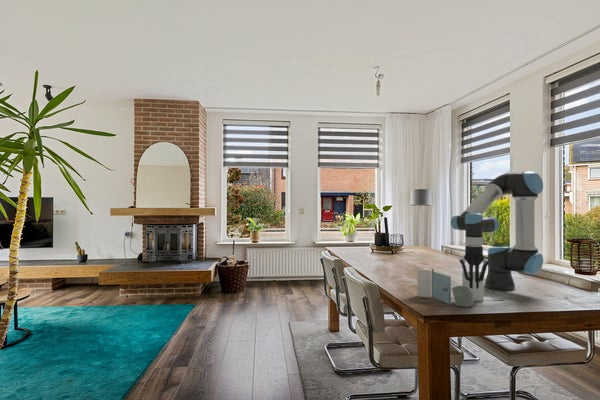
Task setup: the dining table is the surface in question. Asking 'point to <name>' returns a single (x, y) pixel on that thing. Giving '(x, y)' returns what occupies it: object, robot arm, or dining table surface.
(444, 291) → the door
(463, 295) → the decorative stone
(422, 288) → the wall
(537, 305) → the dining table surface
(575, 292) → the dining table surface
